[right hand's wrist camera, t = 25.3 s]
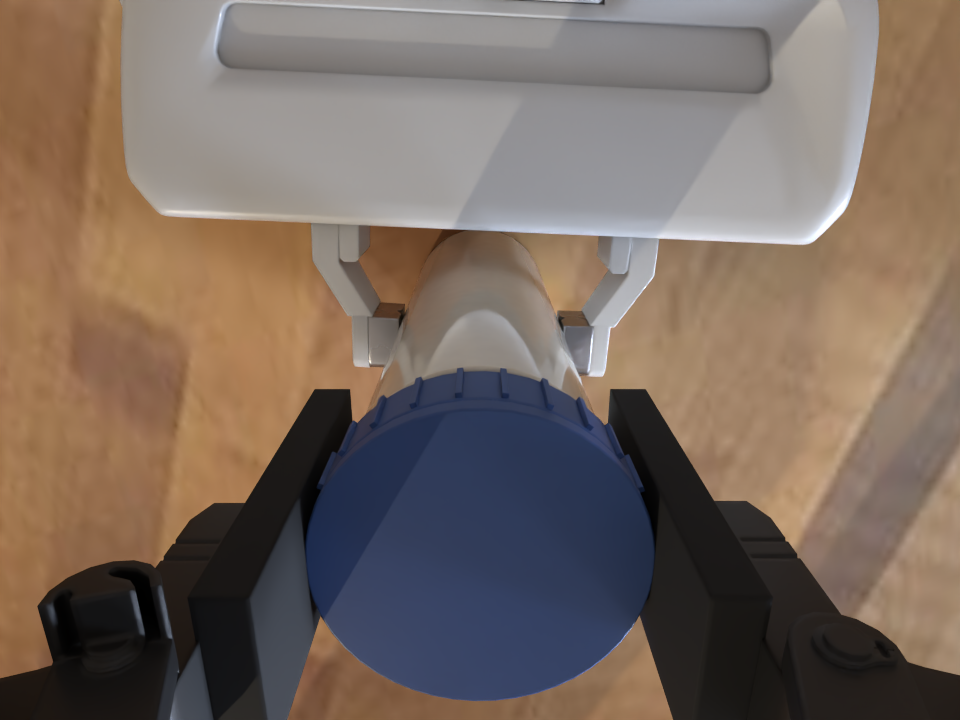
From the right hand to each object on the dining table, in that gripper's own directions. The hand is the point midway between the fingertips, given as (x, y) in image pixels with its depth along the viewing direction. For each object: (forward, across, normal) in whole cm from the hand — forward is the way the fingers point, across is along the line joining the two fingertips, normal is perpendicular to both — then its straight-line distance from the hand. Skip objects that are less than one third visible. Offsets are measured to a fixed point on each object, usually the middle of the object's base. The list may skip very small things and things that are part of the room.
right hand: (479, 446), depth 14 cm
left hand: (+7, 0, -1) cm, 7 cm away
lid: (-4, 0, 0) cm, 4 cm away
